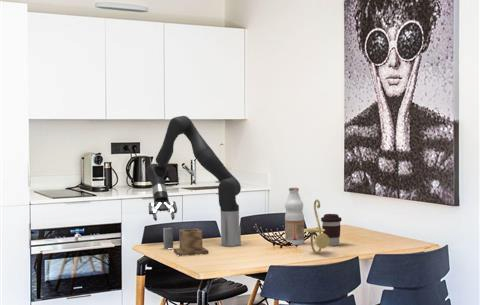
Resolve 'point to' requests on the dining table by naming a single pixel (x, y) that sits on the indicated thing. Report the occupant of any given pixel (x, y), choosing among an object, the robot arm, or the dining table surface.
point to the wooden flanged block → (190, 243)
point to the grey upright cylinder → (168, 237)
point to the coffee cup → (332, 228)
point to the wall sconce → (322, 238)
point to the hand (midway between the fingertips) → (164, 219)
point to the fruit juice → (294, 218)
